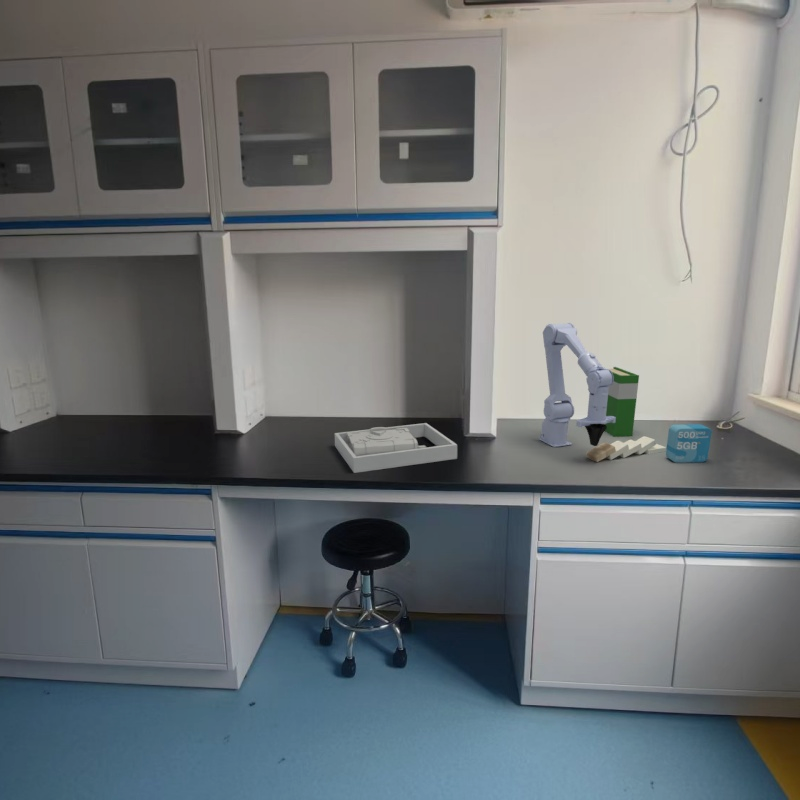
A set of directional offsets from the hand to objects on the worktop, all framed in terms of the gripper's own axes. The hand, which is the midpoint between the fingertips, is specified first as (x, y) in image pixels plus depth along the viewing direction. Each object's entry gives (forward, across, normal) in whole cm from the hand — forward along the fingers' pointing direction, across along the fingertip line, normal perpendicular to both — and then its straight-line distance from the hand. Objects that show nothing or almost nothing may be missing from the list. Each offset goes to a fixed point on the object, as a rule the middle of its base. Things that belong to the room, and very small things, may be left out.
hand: (593, 444), depth 172 cm
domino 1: (+4, 0, 0) cm, 5 cm away
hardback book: (+6, +31, +25) cm, 40 cm away
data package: (+6, +29, -11) cm, 32 cm away
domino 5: (+5, +22, 0) cm, 23 cm away
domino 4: (+4, +18, 0) cm, 18 cm away
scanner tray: (+5, -60, +31) cm, 68 cm away
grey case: (+6, -62, +33) cm, 70 cm away
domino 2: (+4, +6, 0) cm, 7 cm away
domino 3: (+4, +11, 0) cm, 12 cm away
